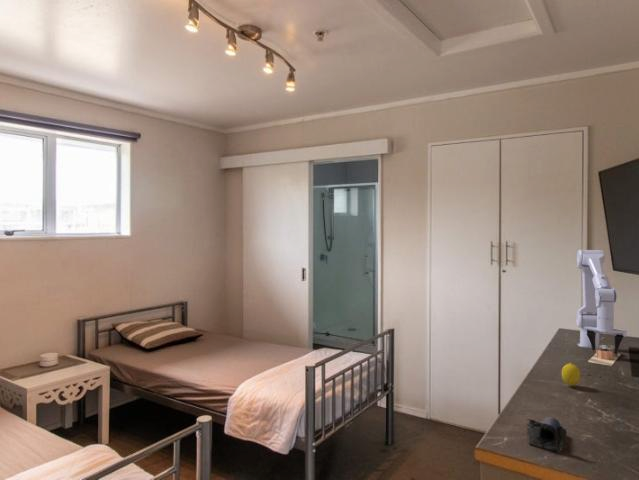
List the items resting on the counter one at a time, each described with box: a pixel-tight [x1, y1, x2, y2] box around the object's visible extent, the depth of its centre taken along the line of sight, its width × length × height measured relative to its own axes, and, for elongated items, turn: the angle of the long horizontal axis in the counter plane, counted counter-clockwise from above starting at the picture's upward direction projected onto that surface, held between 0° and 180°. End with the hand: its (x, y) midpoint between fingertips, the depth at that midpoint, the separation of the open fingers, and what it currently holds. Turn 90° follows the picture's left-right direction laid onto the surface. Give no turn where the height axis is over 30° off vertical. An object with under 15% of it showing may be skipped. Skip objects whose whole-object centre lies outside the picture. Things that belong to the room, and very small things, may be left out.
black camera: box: [526, 416, 568, 453], centre depth 116 cm, size 9×8×12 cm
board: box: [587, 344, 621, 367], centre depth 184 cm, size 21×8×5 cm, turn 139°
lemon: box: [561, 362, 581, 387], centre depth 155 cm, size 6×6×8 cm
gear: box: [595, 349, 613, 360], centre depth 184 cm, size 6×6×3 cm
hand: (604, 351), depth 184 cm, fingers open, 7 cm apart
